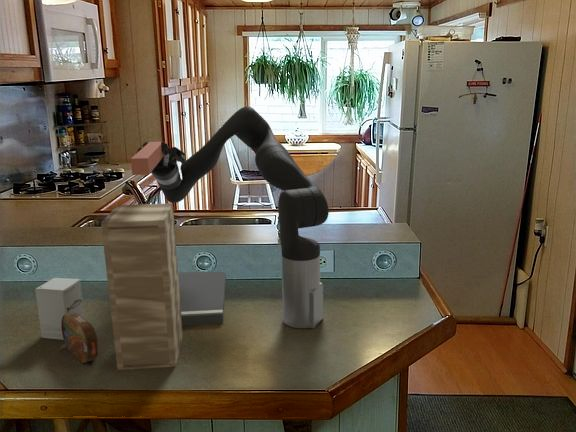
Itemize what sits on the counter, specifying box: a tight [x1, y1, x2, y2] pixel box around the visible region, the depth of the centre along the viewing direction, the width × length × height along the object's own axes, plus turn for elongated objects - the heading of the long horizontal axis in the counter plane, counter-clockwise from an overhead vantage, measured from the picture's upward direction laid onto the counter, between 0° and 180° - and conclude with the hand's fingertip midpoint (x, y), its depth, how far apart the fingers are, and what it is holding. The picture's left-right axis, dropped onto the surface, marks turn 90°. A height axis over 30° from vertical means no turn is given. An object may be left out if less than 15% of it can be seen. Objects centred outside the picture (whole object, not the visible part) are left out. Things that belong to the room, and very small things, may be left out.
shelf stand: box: [100, 202, 184, 371], centre depth 112 cm, size 14×12×32 cm
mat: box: [178, 271, 227, 326], centre depth 142 cm, size 30×18×3 cm, turn 5°
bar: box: [130, 141, 165, 176], centre depth 123 cm, size 26×4×4 cm, turn 6°
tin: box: [61, 313, 99, 364], centre depth 115 cm, size 15×3×8 cm, turn 42°
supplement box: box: [34, 277, 86, 341], centre depth 124 cm, size 7×7×13 cm
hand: (154, 145), depth 131 cm, fingers closed on bar, 3 cm apart
